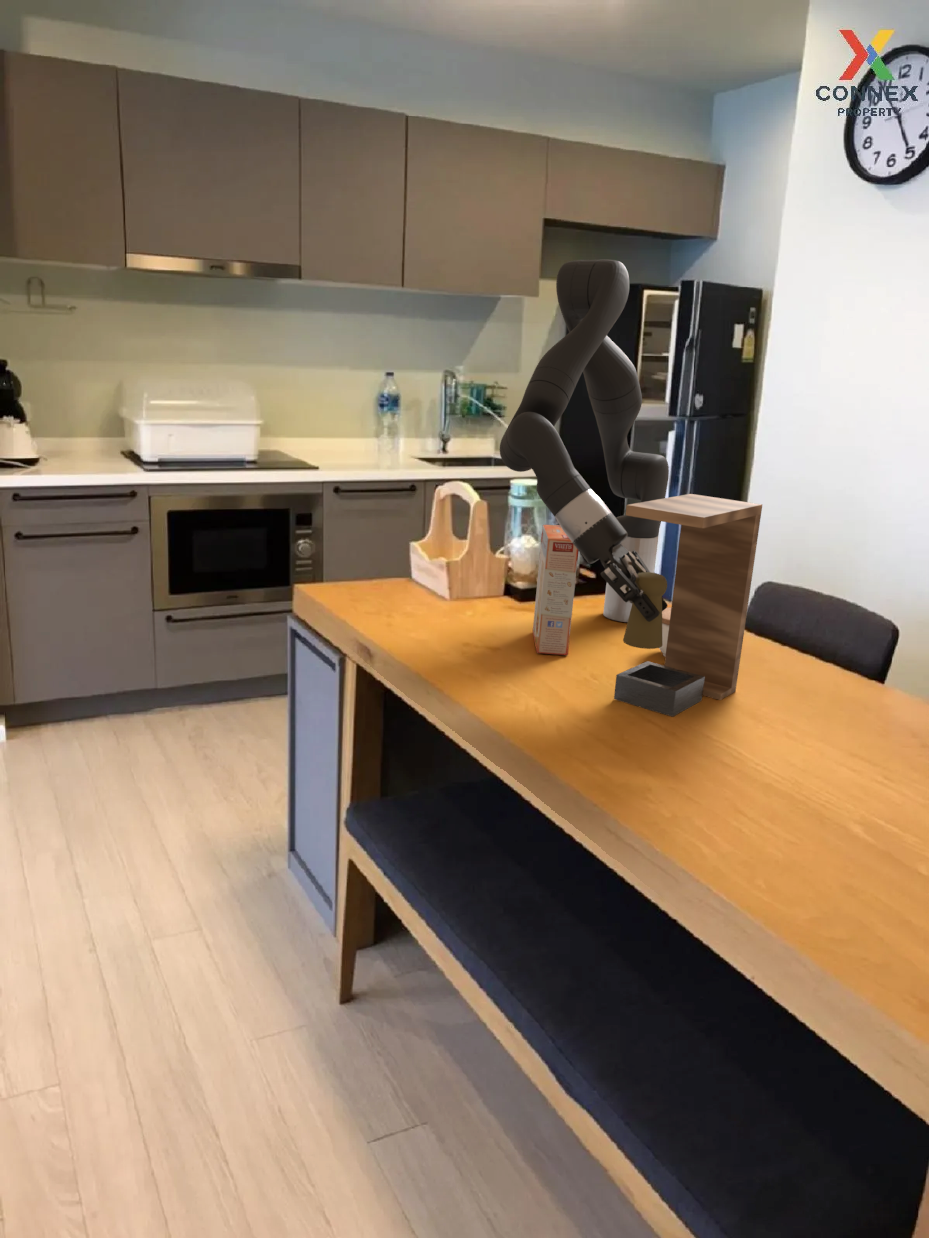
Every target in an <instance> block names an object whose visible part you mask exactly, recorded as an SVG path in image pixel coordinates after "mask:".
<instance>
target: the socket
mask: <svg viewBox="0 0 929 1238" xmlns="http://www.w3.org/2000/svg"><path fill="white" fill-rule="evenodd" d="M704 679H705V676H701V675H697V674H694V673H690V672H686V671H682V670H679V669H675V668H671V667H667V666H664V664H659V663H655V662H651V661H648V660H647V661H644V662H643V663H640V664H638V665H636V666H634V667H631V668H629V669H627V670H624V671H622V672H619V673H617V674H616V676H615V687H614V696H613V699H614V700H615V701H619V702H623V703H625V704H629V705H632V706H636V707H639V708H642V709H645V710H649V711H652V712H656V713H659V714H662V715H666V716H669V717H675V716H676V715H678V714H680V713H682V712H684V711H685V710H687V709H689V708H692V707H693V706H695V705H696V704H698V703H699V702H702V701H703V700H702V699H703V695H702V694H703V686H704Z"/></svg>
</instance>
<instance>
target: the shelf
mask: <svg viewBox="0 0 929 1238" xmlns="http://www.w3.org/2000/svg"><path fill="white" fill-rule="evenodd" d="M625 509H626V510H625V515H627V516H633V517H639V518H645V519H651V520H657V521H661V523H662V522H665V523H669V524H675V525H680V532H679V533H680V535H679V543H678V551H677V558H676V559H677V560H676V567H675V576H674V585H673V593H672V600H671V615H670V623H669V632H668V640H667V648H666V656H665V658H664V664H663V665H664V666H667V667H671V668H675V669H679V670H682V671H686V672H690V673H694V674H697V675H701V676H705V679H704V686H703V694H702V696H705V697H708V698H712V699H715V700H719V701H721V700H723V699H725V698H727V697H728V696H730V695H732V694H733V693H735V692H736V691H737V683H738V677H739V670H740V664H741V663H740V662H741V658H742V657H741V656H742V650H743V642H744V635H745V629H746V621H747V615H748V608H749V601H750V593H751V588H752V586H751V585H752V580H753V575H754V574H753V573H754V572H753V571H754V565H755V559H756V553H757V544H758V537H759V532H760V524H761V518H762V510H763V504H760V503H753V502H748V501H741V500H734V499H729V498H723V497H721V498H720V497H715V496H714V497H713V496H707V495H701V494H695V493H694V494H693V493H686V494H682V495H677V496H670V497H665V498H664V499H658V500H652V501H646V502H641V501H640V502H635V503H630V504H626V508H625Z"/></svg>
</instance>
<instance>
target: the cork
mask: <svg viewBox="0 0 929 1238" xmlns="http://www.w3.org/2000/svg"><path fill="white" fill-rule="evenodd" d="M637 575H638V576H639V578H640V580H639V582H638V583H639V585H640V586H641V588H642V589H643V590H644V592H645V594H646V595H647V596H648V598H649V599H650V600H651V601H652V603H653V604H654V605H655V607H656V608H657V609H658V611H659V612H660V614H659V616H657V617H656V618H655V619H653V620H652V621H650V622H648V621H647V620H646V619H645V618H644V616H643V615H642V614H641V613H640V611H639V610H638V609H637V607H636V606H635V605H634V602H633V603H632V607H631V611H630V615H629V619H628V622H626V628H625V631H624V635H623V639H622V641H623V643H624V644H626V645H627V646H629V647H632V648H637V649H638V648H639V649H645V650H651V649H652V650H654V649H659V648H660V647H662V598H663V596H664V595H665V593H666V591H667V589H668V581H667V578H666V577H665V576H664V575H662V574H660V573H657V572H655V573H652V572H642V573H638V574H637ZM645 594H644V595H645ZM644 595H643V596H644Z"/></svg>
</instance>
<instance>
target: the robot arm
mask: <svg viewBox="0 0 929 1238" xmlns="http://www.w3.org/2000/svg"><path fill="white" fill-rule="evenodd" d="M555 286H556V288H555V291H556V298H557V303H558V305H559V309H560V312H561V315H562V317H563V320H564V323H565V326H566V327H567V330H568V333H567V334H565V336H563V337H562V338H561V339H560V340H558V341H557V342H556V343H555V344H554V345H553V346H552V347H551V348H550V349H549V350H547V351H546V352H545V354H544V355H543V356H542V357H541V358H540V359H539V362H538V363H537V365H536V367H535V369H534V371H533V373H532V375H531V377H530V379H529V381H528V384H527V386H526V389H525V391H524V394H523V396H522V399H521V402H520V404H519V406H518V408H517V410H516V411H515V414H514V415H513V417H512V418H511V420H510V422H509V424H508V426H507V428H506V430H505V432H504V434H503V436H502V438H501V440H500V443H499V455H500V458H501V460H502V463H503V464H504V465H505V466H506V467H507V468H508V469H510V470H511V471H513V472H519V473H521V472H528V471H531V470H532V472H533V473H534V475H535V477H536V486H535V488H536V489H535V490H536V493H537V495H538V497H539V498H540V500H541V501H542V503H544V505H545V506H546V508H547V509H548V510H549V512H550V513H551V514H552V516H553V517H554V518H555V519H556V521H557V523H558V524H559V525H560V526H561V528H562V529H563V531H564V532H565V534H566V535H567V536H568V538H569V539H570V540H571V541H572V543H573V544H574V545H575V547H576V548H577V549H578V551H579V552H578V553H580V554H581V556H582V558H583V559H584V560H585V561H586V562H587V564H590V565H591V564H594V563H596V562H597V561H599V560H600V563H601V565H602V567H603V568H604V569H603V570H602V571H601V572H600V576H601V578H603V580H605V582H606V585H605V593H604V594H605V595H604V603H603V613H602V614H603V617H605V618H606V619H609V620H612V621H616V622H624V623H628V619H629V615H630V611H631V607H632V603H633V602H634V605H635V606H636V607H637V609H638V610H639V611H640V613H641V614H642V615H643V616H644V618H645V619H646V620H647V621H648V622H650V621H652V620H653V619H655V618H656V617H657V616H659V614H660V612H659V611H658V609H657V608H656V607H655V605H654V604H653V603H652V601H651V600H650V599H649V598H648V596H647V595H646V594H645V592H644V590H643V589H642V588H641V586H640V585H639V583H638V582H639V580H640V578H639V576H638V575H637V574H638V573H642V572H652V573H656V571H655V568H656V559H657V553H658V552H657V550H658V549H657V548H658V542H659V532H660V527H661V523H662V521H657V520H651V519H645V518H639V517H633V516H627V515H626V514H625V515H620V516H617V517H616V516H615V515H614V513H613V512H612V511H611V510H610V509H609V507H608V506H607V504H605V501H603V500H602V499H601V497H600V496H599V495H598V494H596V492H595V491H594V490H593V489H592V488H591V487H590V485H589V484H588V483H587V482H586V480H585V479H584V478H583V476H582V475H581V474H580V473H579V471H578V470H577V469H576V468H575V466H574V464H573V462H572V459H571V456H570V454H569V452H568V450H567V448H566V446H565V445H564V442H563V440H562V438H561V436H560V434H559V432H558V431H557V429H556V427H555V425H556V424H557V423H558V421H559V420H560V418H561V417H562V415H563V413H564V412H565V410H566V409H567V408H568V407H567V406H568V404H569V403H570V400H571V398H572V395H573V393H574V391H575V389H576V386H577V385H578V382H579V380H580V378H581V376H582V374H583V377H584V381H585V385H586V390H587V394H588V398H589V402H590V405H591V408H592V411H593V414H594V416H595V420H596V424H597V425H596V426H597V428H598V432H599V436H600V440H601V446H602V450H603V451H602V452H603V457H604V463H605V469H606V475H607V481H608V484H609V487H610V489H611V491H612V493H613V495H615V496H617V497H620V498H623V499H629V500H633V501H640V503H641V502H646V501H652V500H658V499H664V498H666V496H667V489H668V484H669V479H670V478H669V474H670V473H669V471H670V466H669V463H668V459H667V458H666V457H665V456H663V455H661V454H656V453H648V452H638V451H633V450H632V449H631V448H630V446H629V444H628V443H629V442H628V434H629V432H630V430H631V429H632V426H633V425H634V423H635V421H636V419H637V418H638V415H639V413H640V410H641V408H642V404H643V396H642V390H641V385H640V381H639V377H638V373H637V370H636V367H635V365H634V364H633V362H632V360H630V359H629V357H628V356H627V355H626V354H625V352H624V351H623V350H622V349H621V348H620V347H619V346H618V345H617V344H616V343H615V342H614V341H612V339H611V338H610V337H609V336H608V334H609V332H610V330H612V328H613V326H614V325H615V323H616V322H617V320H618V319H619V318H620V316H621V314H622V312H623V310H624V309H625V307H626V304H627V301H628V298H629V293H630V277H629V272H628V270H627V268H626V266H625V264H624V263H622V262H621V261H619V260H615V259H576V260H570V261H567V262H565V263H563V264H562V265H561V266H560V268H559V269H558V272H557V275H556V283H555ZM644 594H645V595H644ZM643 595H644V596H643ZM666 608H668V603H667V602H666V600H665V599H664V598H663V597H662V611H663V610H665V609H666Z"/></svg>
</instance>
